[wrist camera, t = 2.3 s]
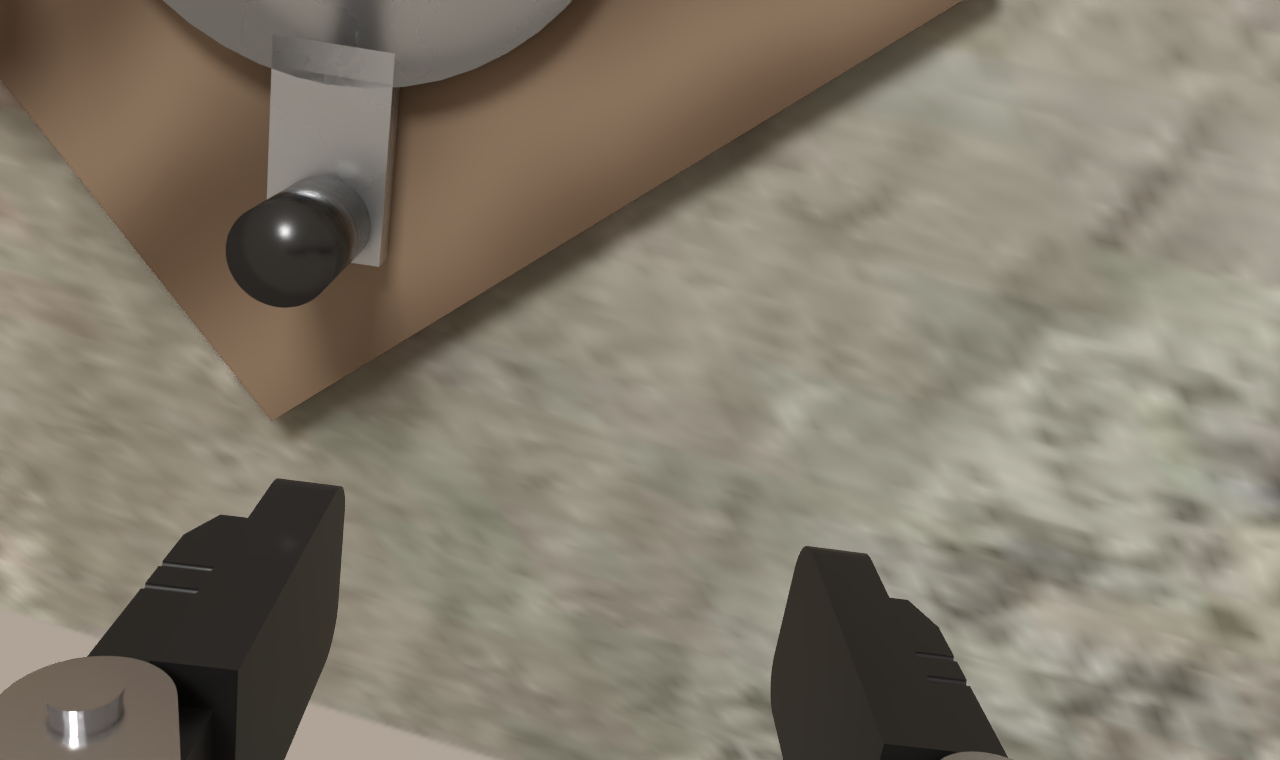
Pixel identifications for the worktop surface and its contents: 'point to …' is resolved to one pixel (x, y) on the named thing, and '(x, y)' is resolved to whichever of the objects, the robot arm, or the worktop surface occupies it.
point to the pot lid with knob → (342, 118)
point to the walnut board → (413, 149)
